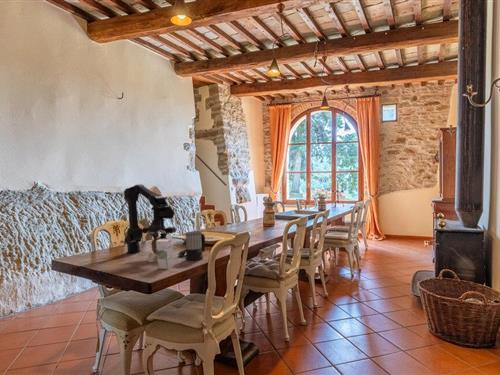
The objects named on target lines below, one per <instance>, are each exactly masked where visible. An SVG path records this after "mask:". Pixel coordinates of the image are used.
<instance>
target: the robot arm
mask: <svg viewBox="0 0 500 375" xmlns="http://www.w3.org/2000/svg"><path fill="white" fill-rule="evenodd" d="M140 195H141V196H142V197H145V199H147V200H148V203H149V204H150V205H151V208H150V210H151V211H152V213H153V214H152V216H153V220H152V221H151V223H150V225H149V226H145V227H143V228H142V227H140V226H139V218H138V217H139V216H138V205H137V201H138V200H139V198H140ZM123 197H124V199H125V201H126V202H127V209H128V220H129V227H128V229H127V234H126V237H125V238H124V244H127V245H126V246H127V248H126V249H127V251H126V254H137V253H140V252H141V246H140V242H142V238H143V235H144V234H147V233H148V232H149V235H150V236H152V238H153V239H155V238H157V237H159V235H160V236H161V239H165V237H166V238H167V235H168V234H174V233H176V232H177V228H176V227H175V226H168V227H166V226H165V221H166V219H169V220H171V219H173V218H174V216H175V211H174V209H173V208H172V206H169V204H168V202H167V200H166V198H165V196H164V195H162V194H157V193H154V192H153V191H152V190H150V189H149V188H147V187H146V186H145V185H144V184H142V183H141V184H135V185H133V186H131V187H128V188H125V189H124V190H123ZM160 232H161V233H160ZM159 233H160V234H159Z"/></svg>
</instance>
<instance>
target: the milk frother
mask: <svg viewBox="0 0 500 375" xmlns="http://www.w3.org/2000/svg"><path fill="white" fill-rule="evenodd" d="M184 234H185V246H186V247H185V249H184V250H181V251H179V253H178V257H180V258H185V260H186V261H188V262H189V261H190V262H193V261H194V262H195V261H196V262H197V261H200V260H201V261H202V260H203V259H204V257H203V253H204V252H205V251H206V236H205V234H204V233H202V231H197V230H196V231H188V232H187V231H186V232H184ZM185 253H186V254H185Z"/></svg>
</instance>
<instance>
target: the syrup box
mask: <svg viewBox="0 0 500 375" xmlns="http://www.w3.org/2000/svg"><path fill="white" fill-rule="evenodd" d="M156 244H157V264H156V265H157V270H170V269H171V268H173V251H172V250H173V249H172V245H173V244H172V239H171V238H167V239H159V240H157V241H156Z"/></svg>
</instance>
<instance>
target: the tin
mask: <svg viewBox="0 0 500 375" xmlns="http://www.w3.org/2000/svg"><path fill="white" fill-rule="evenodd" d="M159 239H161V235H160V236H158V237H157V238H155V239H154V238H153V239H152V241H151V243H150V245H151V252H152V251H153V252H154V253H157V244H156V241H157V240H159ZM165 239H168V238H167V236H166V237H165Z"/></svg>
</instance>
